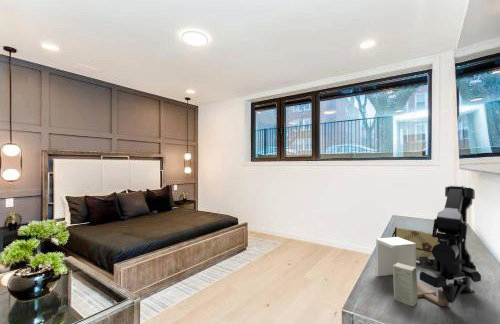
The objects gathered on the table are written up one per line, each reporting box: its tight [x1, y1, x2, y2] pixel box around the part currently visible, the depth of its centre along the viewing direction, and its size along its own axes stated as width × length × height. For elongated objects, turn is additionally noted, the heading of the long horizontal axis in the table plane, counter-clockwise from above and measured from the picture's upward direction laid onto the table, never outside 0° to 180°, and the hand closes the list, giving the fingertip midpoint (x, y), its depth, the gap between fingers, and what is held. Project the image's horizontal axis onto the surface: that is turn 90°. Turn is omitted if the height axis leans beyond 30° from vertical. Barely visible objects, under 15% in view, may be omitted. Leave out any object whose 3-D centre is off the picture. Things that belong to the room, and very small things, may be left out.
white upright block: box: [375, 236, 417, 277], centre depth 102 cm, size 11×9×16 cm
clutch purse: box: [391, 226, 468, 270], centre depth 116 cm, size 30×7×15 cm, turn 42°
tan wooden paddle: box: [417, 281, 450, 307], centre depth 89 cm, size 8×15×5 cm, turn 13°
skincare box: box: [392, 262, 419, 307], centre depth 86 cm, size 6×4×12 cm
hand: (450, 302), depth 80 cm, fingers closed
